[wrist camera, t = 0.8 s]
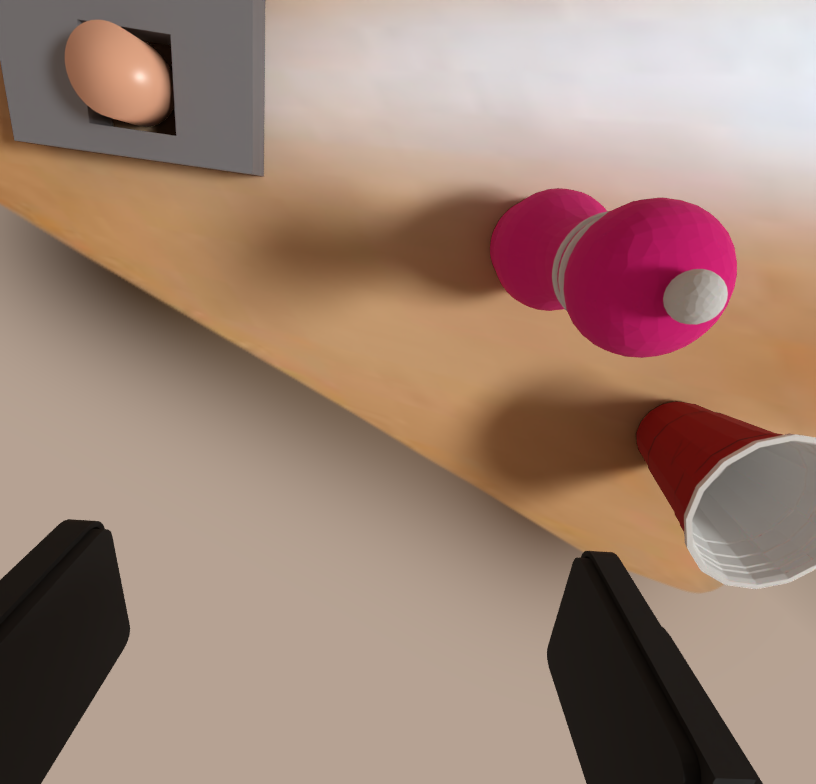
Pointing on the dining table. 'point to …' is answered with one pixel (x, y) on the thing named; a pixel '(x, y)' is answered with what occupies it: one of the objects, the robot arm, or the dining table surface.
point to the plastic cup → (735, 493)
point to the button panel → (192, 79)
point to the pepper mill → (618, 267)
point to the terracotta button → (119, 74)
